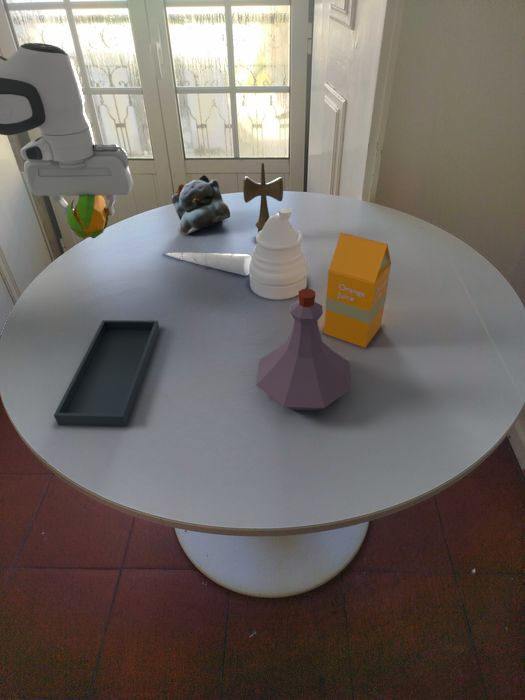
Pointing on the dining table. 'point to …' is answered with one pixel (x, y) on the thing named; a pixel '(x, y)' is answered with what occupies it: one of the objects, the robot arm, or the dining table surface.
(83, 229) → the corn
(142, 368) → the tray
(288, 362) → the flask
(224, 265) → the unicorn horn
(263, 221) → the kendama
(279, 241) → the honey pot
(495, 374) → the dining table surface
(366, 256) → the orange juice
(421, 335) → the dining table surface
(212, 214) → the lucky cat figurine
